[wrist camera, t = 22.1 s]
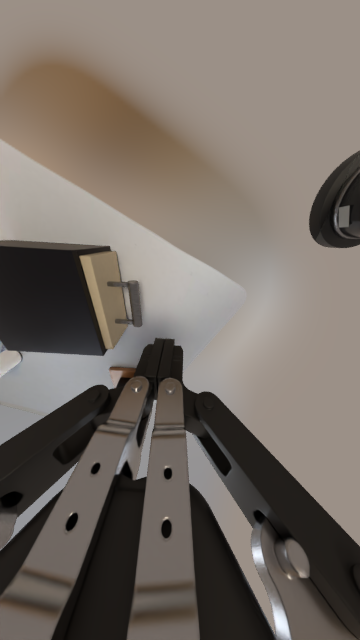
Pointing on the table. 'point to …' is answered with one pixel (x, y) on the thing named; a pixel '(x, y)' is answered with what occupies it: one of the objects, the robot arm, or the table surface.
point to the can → (8, 360)
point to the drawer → (110, 296)
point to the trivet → (120, 374)
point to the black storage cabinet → (47, 299)
